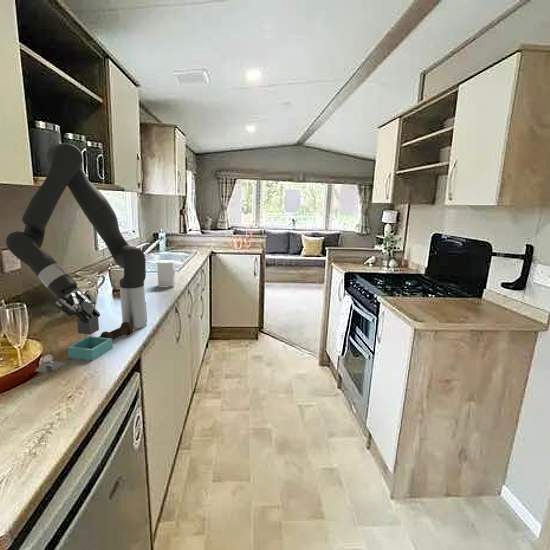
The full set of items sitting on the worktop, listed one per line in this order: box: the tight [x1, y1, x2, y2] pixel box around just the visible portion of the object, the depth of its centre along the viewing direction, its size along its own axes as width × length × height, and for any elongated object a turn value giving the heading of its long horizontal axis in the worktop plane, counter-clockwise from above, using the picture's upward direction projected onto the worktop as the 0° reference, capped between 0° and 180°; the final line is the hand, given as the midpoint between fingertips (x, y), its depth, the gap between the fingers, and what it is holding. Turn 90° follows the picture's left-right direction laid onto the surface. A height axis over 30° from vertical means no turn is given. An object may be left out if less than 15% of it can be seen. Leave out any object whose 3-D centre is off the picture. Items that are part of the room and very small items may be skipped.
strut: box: [76, 300, 100, 336], centre depth 121 cm, size 4×4×10 cm
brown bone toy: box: [98, 322, 134, 342], centre depth 138 cm, size 6×5×15 cm
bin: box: [67, 335, 114, 361], centre depth 124 cm, size 10×9×5 cm
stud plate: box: [34, 354, 68, 374], centre depth 113 cm, size 7×7×5 cm
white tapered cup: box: [156, 259, 176, 288], centre depth 220 cm, size 9×9×15 cm
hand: (92, 319), depth 121 cm, fingers closed on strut, 4 cm apart
